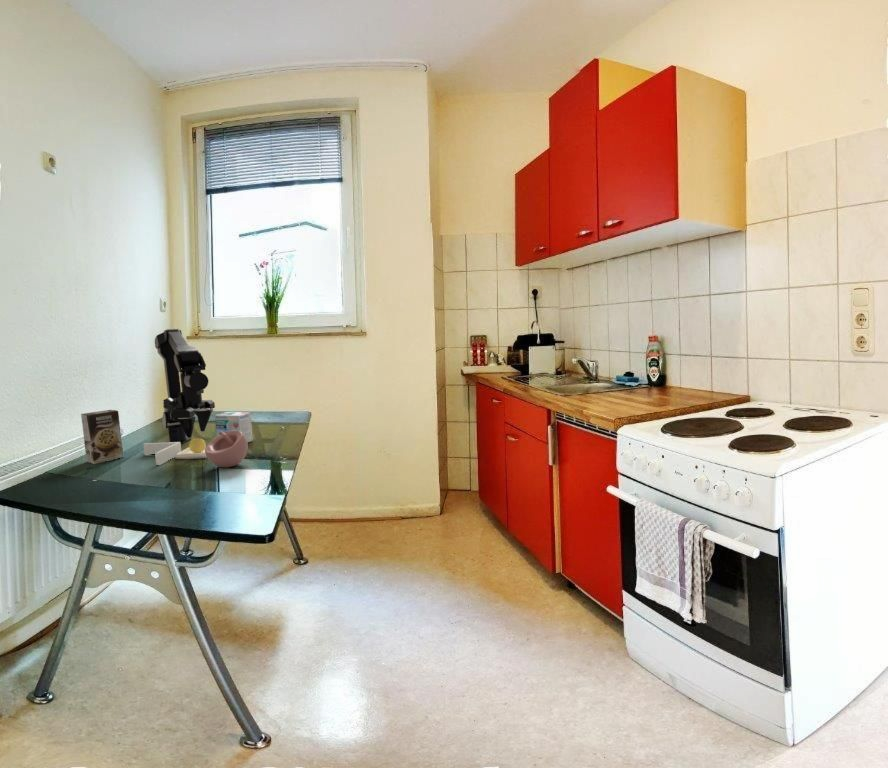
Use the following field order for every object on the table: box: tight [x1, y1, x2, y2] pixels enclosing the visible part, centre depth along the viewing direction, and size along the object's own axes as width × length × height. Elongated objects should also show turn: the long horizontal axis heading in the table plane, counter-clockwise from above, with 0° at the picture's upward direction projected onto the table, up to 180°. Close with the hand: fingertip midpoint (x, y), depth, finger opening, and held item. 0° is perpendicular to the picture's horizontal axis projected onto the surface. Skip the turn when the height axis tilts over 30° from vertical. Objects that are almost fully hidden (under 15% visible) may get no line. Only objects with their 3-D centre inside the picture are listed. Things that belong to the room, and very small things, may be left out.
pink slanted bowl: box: [205, 430, 249, 468], centre depth 157 cm, size 12×12×12 cm
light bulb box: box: [214, 411, 254, 444], centre depth 189 cm, size 11×7×11 cm, turn 73°
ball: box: [188, 437, 207, 453], centre depth 174 cm, size 5×5×5 cm
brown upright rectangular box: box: [80, 409, 124, 465], centre depth 172 cm, size 9×6×16 cm
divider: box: [142, 441, 182, 466], centre depth 169 cm, size 14×12×4 cm
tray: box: [174, 445, 208, 460], centre depth 174 cm, size 10×10×2 cm
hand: (196, 434), depth 173 cm, fingers open, 9 cm apart
